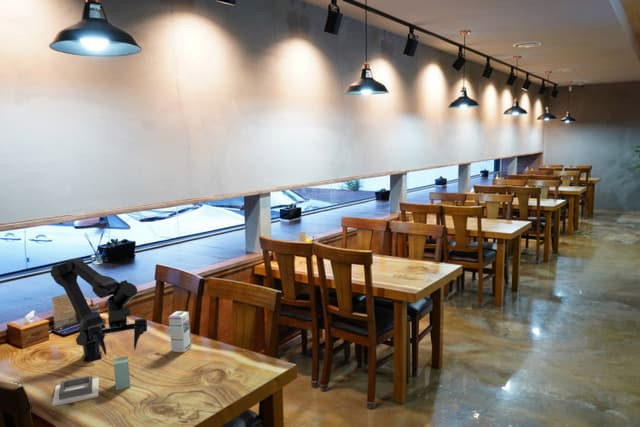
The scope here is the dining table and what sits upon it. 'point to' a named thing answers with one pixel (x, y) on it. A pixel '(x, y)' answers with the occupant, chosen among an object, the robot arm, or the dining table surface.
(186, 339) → the syrup box
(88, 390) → the white grey square base
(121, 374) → the teal green block
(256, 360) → the dining table surface
